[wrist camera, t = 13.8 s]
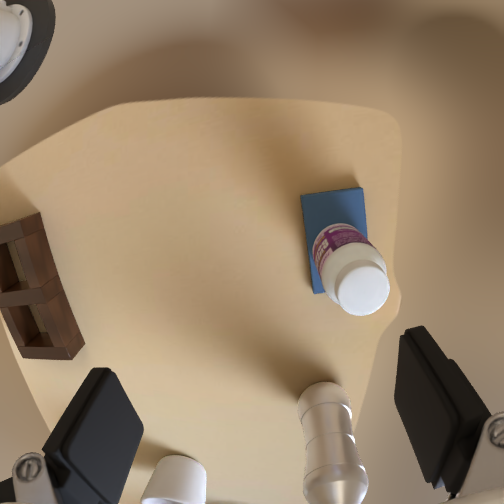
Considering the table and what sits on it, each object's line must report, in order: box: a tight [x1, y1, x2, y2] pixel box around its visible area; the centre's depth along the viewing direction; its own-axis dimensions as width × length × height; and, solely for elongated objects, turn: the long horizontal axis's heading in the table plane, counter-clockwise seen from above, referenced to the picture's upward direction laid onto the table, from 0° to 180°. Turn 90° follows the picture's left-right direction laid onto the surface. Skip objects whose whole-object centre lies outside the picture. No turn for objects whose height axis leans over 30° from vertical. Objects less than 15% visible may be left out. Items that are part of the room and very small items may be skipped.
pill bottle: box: [313, 223, 390, 316], centre depth 26 cm, size 5×5×10 cm
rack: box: [0, 212, 85, 360], centre depth 34 cm, size 18×10×4 cm, turn 10°
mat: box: [300, 187, 368, 294], centre depth 31 cm, size 10×6×1 cm, turn 10°
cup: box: [141, 455, 206, 504], centre depth 41 cm, size 14×10×10 cm
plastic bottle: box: [298, 382, 369, 504], centre depth 29 cm, size 6×7×20 cm
